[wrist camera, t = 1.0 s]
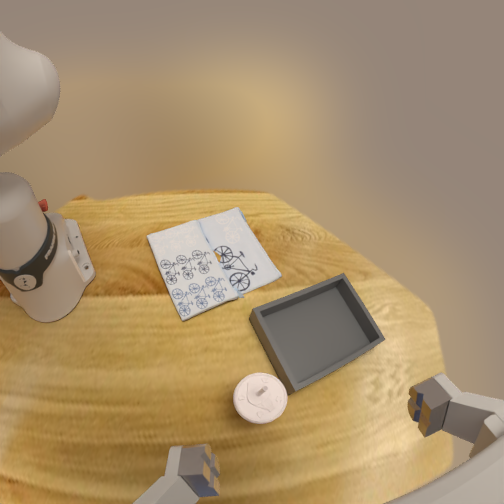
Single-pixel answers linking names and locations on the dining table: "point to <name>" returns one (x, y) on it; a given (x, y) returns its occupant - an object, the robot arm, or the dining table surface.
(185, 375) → the dining table surface
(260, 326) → the tray
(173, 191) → the dining table surface
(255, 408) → the smoothie
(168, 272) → the folded bicycle print cloth
